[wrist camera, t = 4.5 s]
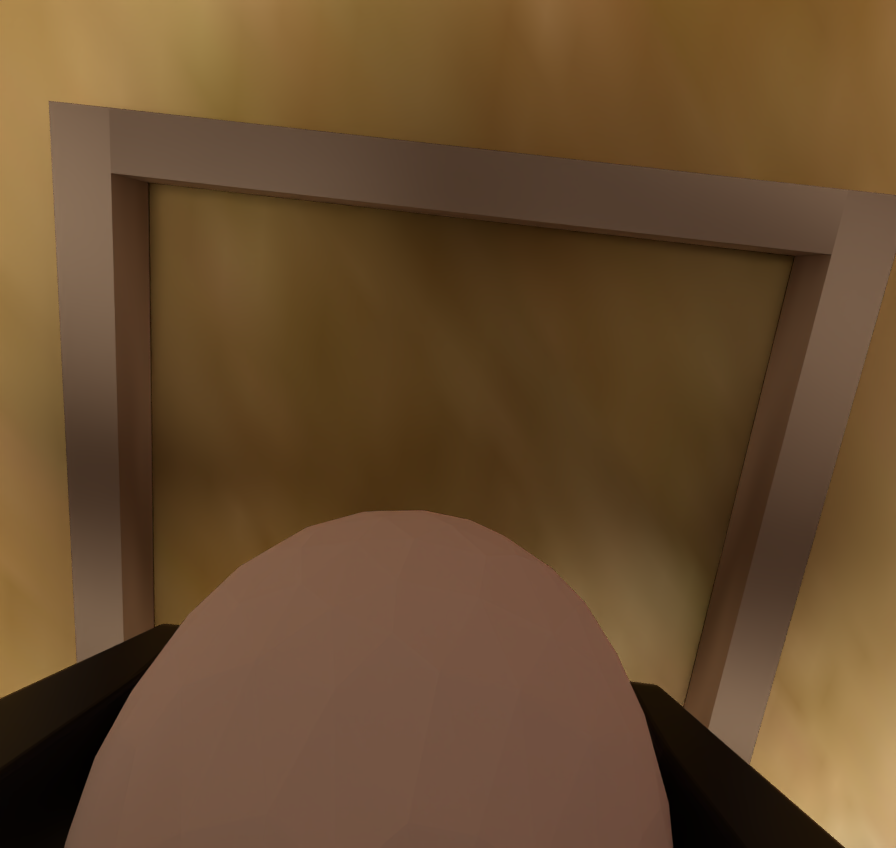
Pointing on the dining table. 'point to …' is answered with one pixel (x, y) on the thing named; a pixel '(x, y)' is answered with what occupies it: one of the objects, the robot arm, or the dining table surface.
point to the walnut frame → (481, 198)
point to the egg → (381, 707)
